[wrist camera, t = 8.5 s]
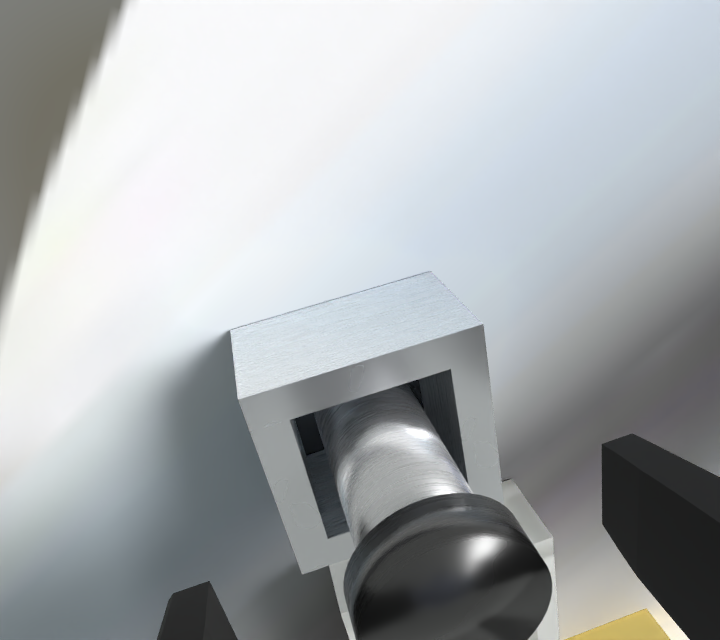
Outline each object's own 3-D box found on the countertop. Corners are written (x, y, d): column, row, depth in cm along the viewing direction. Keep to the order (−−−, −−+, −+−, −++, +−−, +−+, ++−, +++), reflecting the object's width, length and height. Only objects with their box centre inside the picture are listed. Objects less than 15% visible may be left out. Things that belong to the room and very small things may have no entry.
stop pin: (402, 313, 15) (547, 511, 9) (421, 414, 16) (556, 644, 10) (277, 351, 14) (336, 585, 8) (309, 451, 16) (378, 713, 10)
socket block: (431, 271, 14) (483, 324, 12) (456, 430, 17) (503, 503, 14) (230, 329, 14) (237, 399, 11) (285, 486, 16) (302, 574, 14)
